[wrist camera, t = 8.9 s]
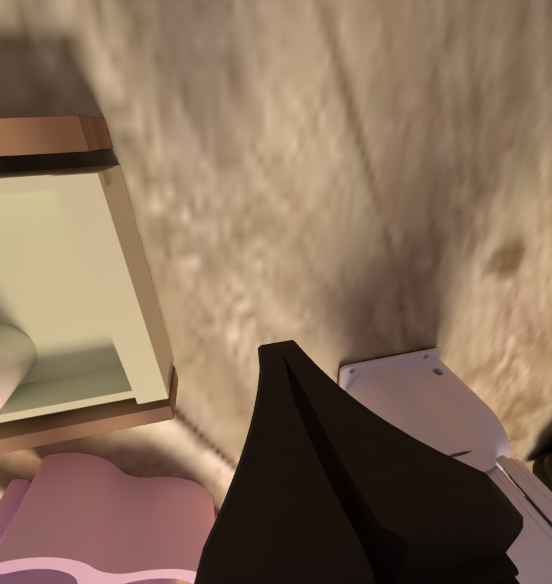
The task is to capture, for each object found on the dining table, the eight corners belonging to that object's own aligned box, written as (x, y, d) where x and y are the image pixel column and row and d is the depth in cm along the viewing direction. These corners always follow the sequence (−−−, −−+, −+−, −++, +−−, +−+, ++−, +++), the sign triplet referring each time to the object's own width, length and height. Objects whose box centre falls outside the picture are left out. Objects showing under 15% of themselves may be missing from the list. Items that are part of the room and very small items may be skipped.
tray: (119, 164, 15) (97, 173, 12) (173, 359, 21) (168, 398, 18) (-198, 185, 13) (-326, 201, 10) (-33, 394, 19) (-79, 445, 16)
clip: (-25, 505, 24) (-100, 627, 18) (86, 425, 23) (44, 529, 17) (159, 558, 34) (149, 648, 28) (244, 504, 33) (253, 587, 27)
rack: (105, 119, 14) (77, 115, 11) (178, 380, 22) (174, 418, 19) (-279, 134, 12) (-448, 135, 9) (-39, 419, 20) (-82, 470, 17)
